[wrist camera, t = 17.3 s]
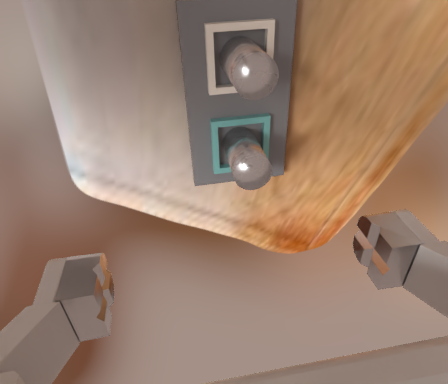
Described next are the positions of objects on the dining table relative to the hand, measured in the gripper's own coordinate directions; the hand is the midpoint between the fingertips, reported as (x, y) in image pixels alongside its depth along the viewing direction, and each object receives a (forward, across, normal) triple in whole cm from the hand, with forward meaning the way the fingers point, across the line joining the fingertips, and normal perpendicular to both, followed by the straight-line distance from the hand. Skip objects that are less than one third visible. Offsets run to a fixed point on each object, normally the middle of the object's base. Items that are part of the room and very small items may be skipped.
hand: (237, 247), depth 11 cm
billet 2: (+33, +7, -13) cm, 36 cm away
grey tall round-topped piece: (+33, +7, -2) cm, 33 cm away
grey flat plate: (+34, +7, -8) cm, 36 cm away
